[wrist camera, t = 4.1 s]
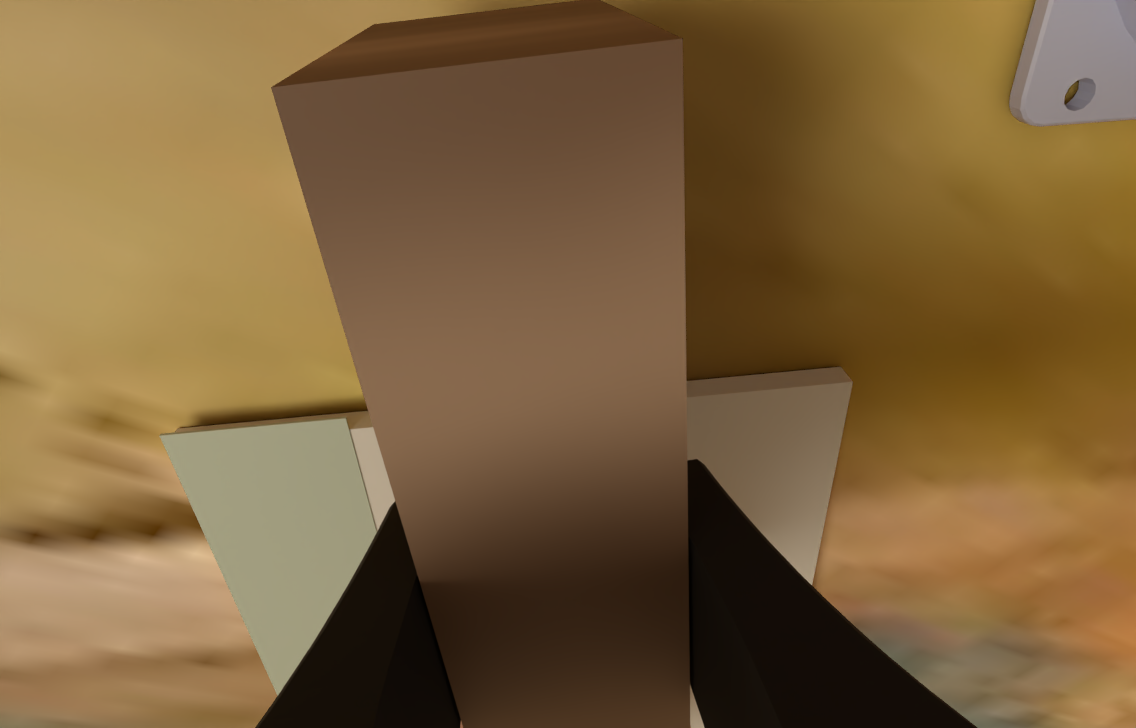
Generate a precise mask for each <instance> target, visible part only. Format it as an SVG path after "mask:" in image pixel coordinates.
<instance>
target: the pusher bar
mask: <svg viewBox="0 0 1136 728" xmlns="http://www.w3.org/2000/svg"><path fill="white" fill-rule="evenodd" d="M271 89H272V92H273V95H274V99H275V102H276V105H277V109H278V112H279V115H280V119H281V122H282V125H283V129H284V132H285V135H286V139H287V142H288V145H289V149H290V152H291V155H292V159H293V162H294V165H295V168H296V172H297V175H298V178H299V182H300V185H301V188H302V192H303V195H304V198H305V202H306V205H307V208H308V212H309V215H310V218H311V222H312V225H313V228H314V232H315V235H316V238H317V242H318V245H319V248H320V252H321V255H322V258H323V262H324V265H325V268H326V272H327V275H328V278H329V282H330V285H331V288H332V292H333V295H334V298H335V302H336V305H337V308H338V312H339V315H340V318H341V322H342V325H343V328H344V332H345V335H346V338H347V342H348V345H349V348H350V352H351V355H352V358H353V362H354V365H355V368H356V372H357V375H358V378H359V382H360V385H361V388H362V392H363V395H364V398H365V402H366V405H367V408H368V412H369V415H370V418H371V422H372V425H373V428H374V432H375V435H376V438H377V442H378V445H379V448H380V452H381V455H382V458H383V462H384V465H385V468H386V472H387V475H388V478H389V482H390V485H391V488H392V492H393V495H394V498H395V502H396V505H397V508H398V512H399V515H400V518H401V522H402V525H403V528H404V532H405V535H406V538H407V542H408V545H409V548H410V552H411V555H412V558H413V562H414V565H415V568H416V572H417V575H418V578H419V582H420V585H421V588H422V592H423V595H424V598H425V602H426V605H427V608H428V612H429V615H430V618H431V622H432V625H433V628H434V632H435V635H436V638H437V642H438V645H439V648H440V652H441V655H442V658H443V662H444V665H445V668H446V672H447V675H448V678H449V682H450V685H451V688H452V692H453V695H454V698H455V701H456V705H457V708H458V711H459V715H460V718H461V721H462V725H463V728H690V655H689V564H688V473H687V381H686V290H685V199H684V108H683V38H680V37H678V36H676V35H674V34H672V33H670V32H667V31H665V30H663V29H661V28H659V27H657V26H655V25H652V24H650V23H648V22H646V21H644V20H642V19H639V18H637V17H635V16H633V15H631V14H629V13H627V12H624V11H622V10H620V9H618V8H616V7H614V6H611V5H609V4H607V3H605V2H603V1H601V0H579V1H571V2H562V3H553V4H545V5H536V6H528V7H519V8H510V9H502V10H493V11H485V12H476V13H467V14H459V15H450V16H442V17H433V18H425V19H416V20H407V21H399V22H390V23H382V24H374V25H372V26H370V27H369V28H367V29H365V30H364V31H362V32H361V33H359V34H357V35H356V36H354V37H352V38H351V39H349V40H348V41H346V42H344V43H343V44H341V45H339V46H338V47H336V48H335V49H333V50H331V51H330V52H328V53H326V54H325V55H323V56H321V57H320V58H318V59H317V60H315V61H313V62H312V63H310V64H308V65H307V66H305V67H304V68H302V69H300V70H299V71H297V72H295V73H294V74H292V75H291V76H289V77H287V78H286V79H284V80H282V81H281V82H279V83H277V84H276V85H274V86H273V87H271Z"/></svg>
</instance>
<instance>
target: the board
mask: <svg viewBox="0 0 1136 728" xmlns="http://www.w3.org/2000/svg"><path fill="white" fill-rule="evenodd" d="M852 384H853V381H852V380H851V379H850V378H849V376H848V375H847V374H846V373H845V371H844V370H843V369H842V368H841V367H832V368H821V369H811V370H800V371H789V372H778V373H768V374H757V375H746V376H735V377H725V378H714V379H703V380H693V381H687V460H693V459H698V460H699V461H701V462H702V463H703V464H705V466H706V467H707V468H708V470H709V471H710V472H711V474H712V475H713V476H714V477H715V479H716V480H717V481H718V482H719V484H720V485H721V486H722V487H723V489H724V490H725V491H726V492H727V494H728V495H729V496H730V497H731V498H732V500H733V501H734V502H735V503H736V504H737V506H738V507H739V508H740V509H741V510H742V511H743V512H744V514H745V515H746V516H747V517H748V518H749V519H750V521H751V522H752V523H753V524H754V525H755V526H756V527H757V529H758V530H759V531H760V532H761V533H762V534H763V535H764V536H765V537H766V538H767V540H768V541H769V542H770V543H771V544H772V545H773V546H774V547H775V548H776V549H777V550H778V551H779V552H780V553H781V554H782V555H783V556H784V557H785V558H786V560H787V561H788V562H789V563H790V564H791V565H792V566H793V567H794V568H795V569H796V570H797V571H798V572H799V573H800V574H801V575H802V576H803V577H804V578H805V579H806V580H807V581H808V582H809V583H810V584H811V585H812V583H813V578H814V573H815V568H816V563H817V558H818V553H819V548H820V543H821V538H822V533H823V528H824V523H825V518H826V513H827V508H828V503H829V498H830V493H831V488H832V484H833V479H834V474H835V469H836V464H837V459H838V454H839V449H840V444H841V439H842V434H843V429H844V424H845V419H846V414H847V409H848V404H849V399H850V394H851V389H852ZM160 438H161V440H162V442H163V444H164V447H165V449H166V451H167V453H168V455H169V458H170V460H171V462H172V464H173V466H174V469H175V471H176V473H177V475H178V477H179V480H180V482H181V484H182V486H183V488H184V491H185V493H186V495H187V497H188V499H189V502H190V504H191V506H192V508H193V510H194V513H195V515H196V517H197V519H198V521H199V524H200V526H201V528H202V530H203V532H204V535H205V537H206V539H207V541H208V543H209V546H210V548H211V550H212V552H213V554H214V557H215V559H216V561H217V563H218V566H219V568H220V570H221V572H222V574H223V577H224V579H225V581H226V583H227V585H228V588H229V590H230V592H231V594H232V596H233V599H234V601H235V603H236V605H237V607H238V610H239V612H240V614H241V616H242V618H243V621H244V623H245V625H246V627H247V629H248V632H249V634H250V636H251V638H252V640H253V643H254V645H255V647H256V649H257V651H258V654H259V656H260V658H261V660H262V662H263V665H264V667H265V669H266V671H267V673H268V676H269V678H270V680H271V682H272V684H273V687H274V689H275V691H276V693H277V695H279V693H280V692H281V690H282V689H283V687H284V686H285V684H286V683H287V681H288V680H289V678H290V677H291V675H292V674H293V672H294V671H295V669H296V668H297V666H298V665H299V663H300V662H301V660H302V659H303V657H304V656H305V654H306V653H307V651H308V650H309V648H310V647H311V645H312V644H313V642H314V640H315V639H316V637H317V636H318V634H319V632H320V631H321V629H322V627H323V626H324V624H325V622H326V621H327V619H328V617H329V616H330V614H331V612H332V611H333V609H334V607H335V606H336V604H337V602H338V601H339V599H340V597H341V596H342V594H343V592H344V591H345V589H346V587H347V586H348V584H349V582H350V580H351V579H352V577H353V575H354V573H355V572H356V570H357V568H358V566H359V564H360V563H361V561H362V559H363V557H364V555H365V554H366V552H367V550H368V548H369V546H370V544H371V542H372V541H373V539H374V537H375V535H376V533H377V531H378V529H379V527H380V525H381V523H382V521H383V519H384V518H385V516H386V514H387V512H388V510H389V508H390V506H391V505H392V504H393V503H394V502H395V498H394V495H393V492H392V488H391V485H390V482H389V478H388V475H387V472H386V468H385V465H384V462H383V458H382V455H381V452H380V448H379V445H378V442H377V438H376V435H375V432H374V428H373V425H372V422H371V418H370V415H369V412H368V411H360V412H349V413H339V414H328V415H317V416H306V417H296V418H285V419H274V420H263V421H253V422H242V423H231V424H220V425H210V426H199V427H188V428H178V429H177V430H176V431H175V433H164V434H160ZM690 726H691V728H705V727H704V724H703V721H702V718H701V716H700V713H699V710H698V707H697V704H696V701H695V698H694V695H693V692H692V689H691V686H690Z"/></svg>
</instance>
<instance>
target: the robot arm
mask: <svg viewBox="0 0 1136 728" xmlns="http://www.w3.org/2000/svg"><path fill="white" fill-rule="evenodd" d="M1077 80H1079V88H1078V91H1077V92H1076V94H1075V96H1074V98H1072V99H1071V100H1070V101H1069V102H1068V103H1067V104H1064V99H1065V94H1066V93H1067V91H1068V89H1069V87H1070V86H1071V85H1073V84H1074V83H1075V82H1076V81H1077ZM1009 107H1010V110H1011V113H1012V115H1013V116H1014V117H1015V118H1016V119H1018V120H1019V121H1021V122H1024V123H1026V124H1029V125H1034V126H1053V125H1067V124H1080V123H1093V122H1106V121H1119V120H1133V119H1136V0H1036V2H1035V6H1034V9H1033V13H1032V17H1031V20H1030V24H1029V28H1028V31H1027V35H1026V39H1025V42H1024V46H1023V50H1022V53H1021V57H1020V61H1019V64H1018V68H1017V72H1016V75H1015V79H1014V83H1013V86H1012V90H1011V94H1010V102H1009ZM687 473H688V564H689V655H690V686H691V689H692V692H693V695H694V698H695V701H696V704H697V707H698V710H699V713H700V716H701V718H702V721H703V724H704V727H705V728H977V727H976V726H975V725H973V724H972V723H971V722H969V721H968V720H967V719H966V718H964V717H963V716H962V715H960V714H959V713H958V712H957V711H955V710H954V709H953V708H952V707H950V706H949V705H948V704H946V703H945V702H944V701H943V700H941V699H940V698H939V697H937V696H936V695H935V694H934V693H932V692H931V691H930V690H929V689H927V688H926V687H925V686H924V685H922V684H921V683H920V682H919V681H918V680H916V679H915V678H914V677H913V676H912V675H910V674H909V673H908V672H907V671H906V670H904V669H903V668H902V667H901V666H900V665H898V664H897V663H896V662H895V661H893V660H892V659H891V658H890V657H889V656H888V655H886V654H885V653H884V652H883V651H882V650H881V649H880V648H878V647H877V646H876V645H875V644H874V643H873V642H872V641H870V640H869V639H868V638H867V637H866V636H865V635H864V634H863V633H862V632H860V631H859V630H858V629H857V628H856V627H855V626H854V625H853V624H852V623H851V622H850V621H848V620H847V619H846V618H845V617H844V616H843V615H842V614H841V613H840V612H839V611H838V610H837V609H836V608H835V607H834V606H833V605H831V604H830V603H829V602H828V601H827V600H826V599H825V598H824V597H823V596H822V595H821V594H820V593H819V592H818V591H817V590H816V589H815V588H814V587H813V586H812V585H811V584H810V583H809V582H808V581H807V580H806V579H805V578H804V577H803V576H802V575H801V574H800V573H799V572H798V571H797V570H796V569H795V568H794V567H793V566H792V565H791V564H790V563H789V562H788V561H787V560H786V558H785V557H784V556H783V555H782V554H781V553H780V552H779V551H778V550H777V549H776V548H775V547H774V546H773V545H772V544H771V543H770V542H769V541H768V540H767V538H766V537H765V536H764V535H763V534H762V533H761V532H760V531H759V530H758V529H757V527H756V526H755V525H754V524H753V523H752V522H751V521H750V519H749V518H748V517H747V516H746V515H745V514H744V512H743V511H742V510H741V509H740V508H739V507H738V506H737V504H736V503H735V502H734V501H733V500H732V498H731V497H730V496H729V495H728V494H727V492H726V491H725V490H724V489H723V487H722V486H721V485H720V484H719V482H718V481H717V480H716V479H715V477H714V476H713V475H712V474H711V472H710V471H709V470H708V468H707V467H706V466H705V464H703V463H702V462H701V461H699V460H698V459H693V460H687ZM460 725H461V718H460V715H459V711H458V708H457V705H456V701H455V698H454V695H453V692H452V688H451V685H450V682H449V678H448V675H447V672H446V668H445V665H444V662H443V658H442V655H441V652H440V648H439V645H438V642H437V638H436V635H435V632H434V628H433V625H432V622H431V618H430V615H429V612H428V608H427V605H426V602H425V598H424V595H423V592H422V588H421V585H420V582H419V578H418V575H417V572H416V568H415V565H414V562H413V558H412V555H411V552H410V548H409V545H408V542H407V538H406V535H405V532H404V528H403V525H402V522H401V518H400V515H399V512H398V508H397V505H396V502H394V503H393V504H392V505H391V506H390V508H389V510H388V512H387V514H386V516H385V518H384V519H383V521H382V523H381V525H380V527H379V529H378V531H377V533H376V535H375V537H374V539H373V541H372V542H371V544H370V546H369V548H368V550H367V552H366V554H365V555H364V557H363V559H362V561H361V563H360V564H359V566H358V568H357V570H356V572H355V573H354V575H353V577H352V579H351V580H350V582H349V584H348V586H347V587H346V589H345V591H344V592H343V594H342V596H341V597H340V599H339V601H338V602H337V604H336V606H335V607H334V609H333V611H332V612H331V614H330V616H329V617H328V619H327V621H326V622H325V624H324V626H323V627H322V629H321V631H320V632H319V634H318V636H317V637H316V639H315V640H314V642H313V644H312V645H311V647H310V648H309V650H308V651H307V653H306V654H305V656H304V657H303V659H302V660H301V662H300V663H299V665H298V666H297V668H296V669H295V671H294V672H293V674H292V675H291V677H290V678H289V680H288V681H287V683H286V684H285V686H284V687H283V689H282V690H281V692H280V693H279V695H278V696H277V698H276V699H275V701H274V702H273V704H272V705H271V706H270V708H269V709H268V711H267V712H266V713H265V715H264V716H263V718H262V719H261V720H260V722H259V723H258V725H257V726H256V727H255V728H460Z"/></svg>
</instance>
